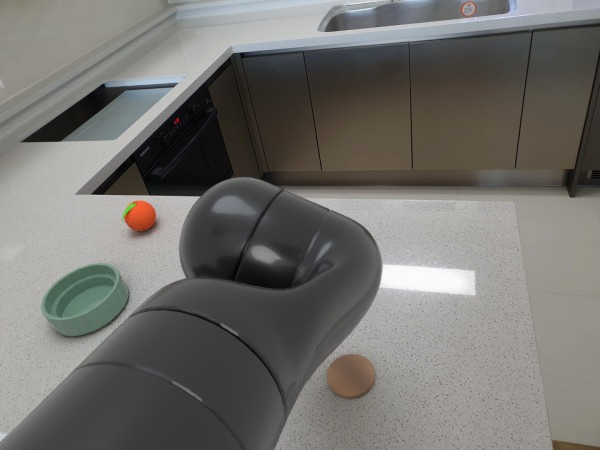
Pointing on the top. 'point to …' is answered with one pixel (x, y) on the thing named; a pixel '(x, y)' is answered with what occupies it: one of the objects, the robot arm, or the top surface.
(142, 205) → the clementine
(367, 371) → the coaster
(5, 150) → the top surface
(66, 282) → the bowl
